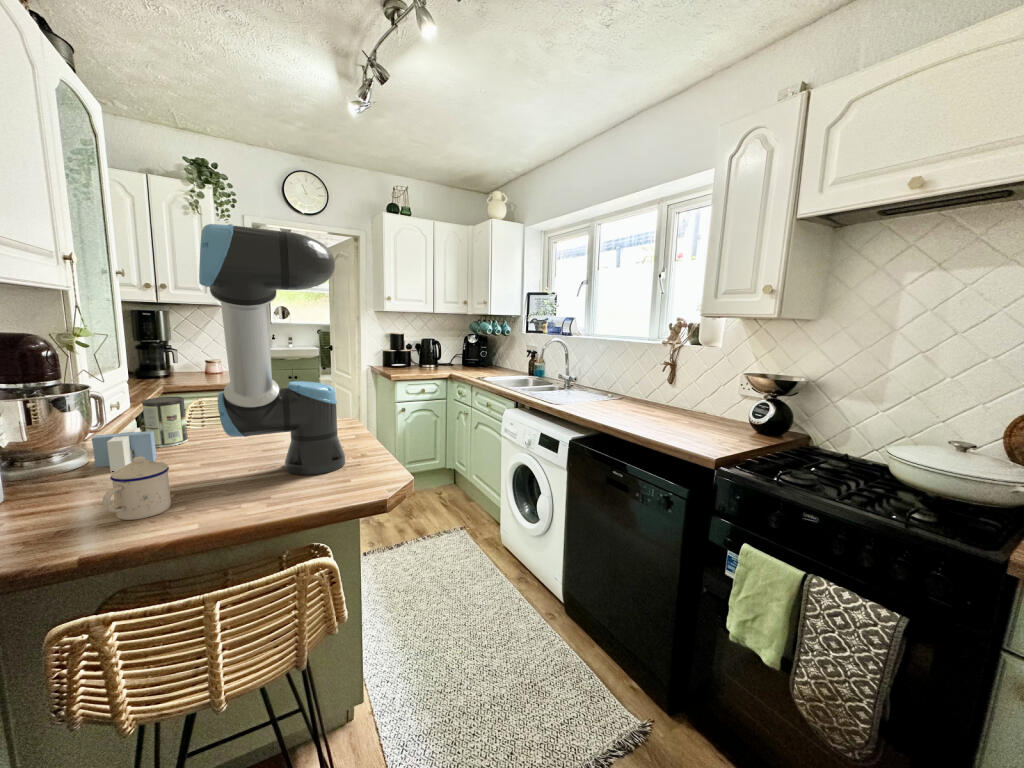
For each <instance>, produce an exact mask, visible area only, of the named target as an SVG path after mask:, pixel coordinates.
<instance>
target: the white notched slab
mask: <svg viewBox="0 0 1024 768" xmlns="http://www.w3.org/2000/svg"><path fill="white" fill-rule="evenodd" d="M133 432H141V428H140V427H131V428H125V429H123V430H122V431H121V432H120V433H133ZM107 447H108V455H109V463H110V466H109V469H110V470H109V471H110V472H111V473H113V472H112V471H115V470H117V469H119V468H122V467H124V466H126V465H127V464H129V463H132V462H133V458H135V451H134V449H131V450H130V443H129V436H122V437H113V438H112V439H110V440H109V441H108V442H107Z"/></svg>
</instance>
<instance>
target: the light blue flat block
mask: <svg viewBox="0 0 1024 768" xmlns="http://www.w3.org/2000/svg"><path fill="white" fill-rule="evenodd" d="M122 436H129V443H130V450H131V449H134V451H135V457H140V456H143V457H145V459H146V460H150V461H153V462H155V461H156V460H157V452H156V451H157V450H156V448H155V439H154V431H146V430H145V431H140V432H133V433H121V432H120V433H108V434H96V435H94V436H92V437H91V444H92V450H93V452H92V453H93V458H94V465H95V468H103V467H110V463H109V455H108V447H107V442H108V441H109V440H110V439H112V438H113V437H122Z"/></svg>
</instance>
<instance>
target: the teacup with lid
mask: <svg viewBox="0 0 1024 768" xmlns="http://www.w3.org/2000/svg"><path fill="white" fill-rule="evenodd" d="M169 470H170V468H169V465H168V464H167V463H165V462H162V461H150V460H146V459H145V457H143V456H140V457H135V458H133V462H132V463H129V464H127V465H126V466H124V467H122V468H119V469H117V470H115V471H114V472H111V474H110V477H109V479H110V481H112V483H111V484H112V488H109V489H108V490H107V491H106V492H105V493H104V495H103V496H102V505H103V507H104V509H105V510H107V511H108V512H112V513H115V514H116V517H117V518H118V519H120V520H124V521H133V520H141V519H142V520H143V519H146V518H150V517H153V516H157V515H159V514H162V513H164V512H166V511H168V509H169V508H170V507H171V505H172V501H171V500H172V499H171V498H172V497H171V489H170V481H169V480H170V479H169ZM112 496H113V497H114V506H115V507H114V506H113V504H112V503H111V499H112Z"/></svg>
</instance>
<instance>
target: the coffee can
mask: <svg viewBox="0 0 1024 768" xmlns="http://www.w3.org/2000/svg"><path fill="white" fill-rule="evenodd" d="M141 404H142V411H143V412H142V413H143V419H144V420H143V421H144V428H145V432H146V431H154V439H155V449H156V448H158V447H160V448H169V447H168V446H170V447H175V445H176V446H180V445H183V444H186V443H187V442H189V437H188V429H187V426H188V425H187V419H186V409H185V397H182V396H161V397H160V396H159V397H153V398H146V399H144V400H141ZM179 444H180V445H179Z"/></svg>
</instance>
